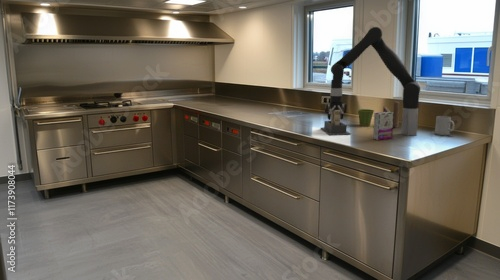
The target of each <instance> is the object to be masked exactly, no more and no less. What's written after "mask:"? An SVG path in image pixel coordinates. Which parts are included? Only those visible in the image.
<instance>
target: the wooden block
mask: <svg viewBox="0 0 500 280" xmlns="http://www.w3.org/2000/svg"><path fill="white" fill-rule="evenodd" d="M392 111H393V112H394V113H393V129H394V128H395V129H397V128H399V126H400V122H399V116H400V115H399V114H400V113H399V111H400V101H394V102H393V110H392ZM382 112H391V111H390V109H389V108H388V107H387V106H386V105H385V106H383V110H382Z"/></svg>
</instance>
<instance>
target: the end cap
mask: <svg viewBox="0 0 500 280" xmlns="http://www.w3.org/2000/svg"><path fill="white" fill-rule="evenodd" d="M320 130H321V131H323V132H324V133H325V134H327V135H328V136H351V134H352V133H351V132H349V131H347V130H348V129H347V124H345V123H344V122H342V121H340V125H332V124H331V120H325V121H324V126H323V127H320Z"/></svg>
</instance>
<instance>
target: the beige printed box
mask: <svg viewBox="0 0 500 280" xmlns="http://www.w3.org/2000/svg"><path fill="white" fill-rule="evenodd" d="M330 114H331V118H330V121H331V124H332V125H340V122H341V119H340V114H341V112H340V110H333V111H332V112H331V113H330Z"/></svg>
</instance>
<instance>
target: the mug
mask: <svg viewBox="0 0 500 280" xmlns="http://www.w3.org/2000/svg"><path fill="white" fill-rule="evenodd" d="M451 125H452V126H451ZM455 126H456V125H455V122H454V121H453V120H452V117H451V116H447V115H438V116H437V115H436V119H435V128H434V129H435V130H434V134H435V135H438V136H448V135H450V134H451V132H453V131H454V130H455Z"/></svg>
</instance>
